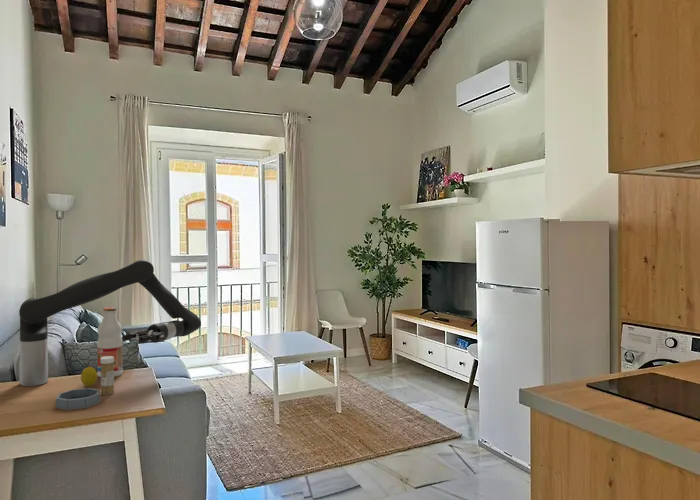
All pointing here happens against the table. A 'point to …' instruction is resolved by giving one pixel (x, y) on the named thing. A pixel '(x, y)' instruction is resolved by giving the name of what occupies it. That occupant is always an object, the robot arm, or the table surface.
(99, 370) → the fruit juice
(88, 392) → the bowl
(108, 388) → the spice jar
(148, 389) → the table surface
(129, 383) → the table surface
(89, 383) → the lemon
